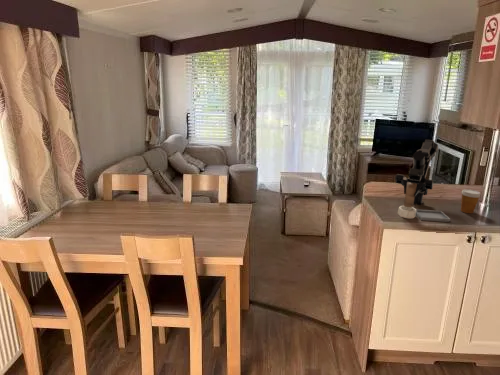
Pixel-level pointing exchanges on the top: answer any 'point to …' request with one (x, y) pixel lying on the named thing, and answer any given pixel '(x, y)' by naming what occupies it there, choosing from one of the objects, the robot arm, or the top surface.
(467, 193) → the disposable coffee cup
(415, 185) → the dowel peg
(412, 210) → the white nut
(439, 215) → the tray
